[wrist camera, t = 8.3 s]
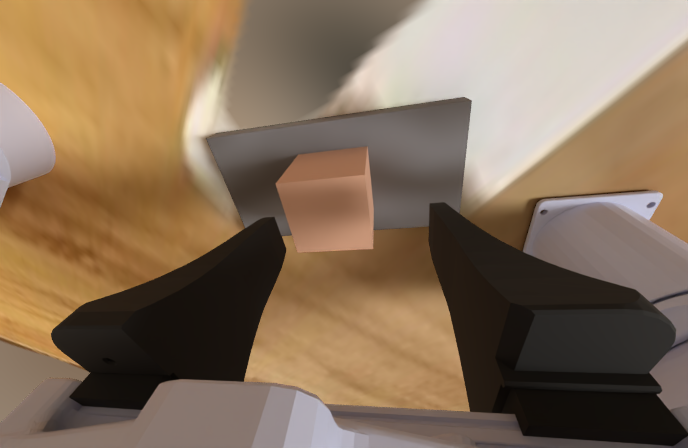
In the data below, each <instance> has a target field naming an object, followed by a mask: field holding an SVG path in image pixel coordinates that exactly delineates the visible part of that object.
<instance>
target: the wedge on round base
mask: <svg viewBox="0 0 688 448" xmlns="http://www.w3.org/2000/svg"><path fill="white" fill-rule="evenodd" d="M55 159H56V156H55V150H54V146H53V143H52V141H51V138H50V136H49V134H48V132H47V130H46V129H45V127H44V126H43V124H42V123H41V121H40V120H39V119H38V117H37V116H36V115H35V114H34V112H33V111H32V110H31V109H30V108H29V107H28V106H27V105H26V104H25V103H24V102H23V101H22V100H21V99H20V98H19V97H18V96H17V95H16V94H15V93H14V92H12V91H11V90H10V89H9V88H7V87H6V86H5V85H3V84H2V83H0V207H1V204H2V202H3V199H4V196H5V194H6V191H7V189H8V188H9V187H12V186H15V185H18V184H20V183H23V182H26V181H29V180H31V179H34V178H37V177H40V176H42V175H45V174H47V173H49V172H50V171H51V170H52V169H53V167H54V164H55Z"/></svg>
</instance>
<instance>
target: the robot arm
mask: <svg viewBox="0 0 688 448" xmlns="http://www.w3.org/2000/svg"><path fill="white" fill-rule="evenodd" d="M662 197H663V194H662V193H660V192H658V191H641V192H628V193H615V194H602V195H589V196H576V197H563V198H550V199H542V200H540V201H539V202H538V203H537V204H536V207H535V210H534V214H533V217H532V221H531V224H530V227H529V231H528V234H527V238H526V241H525V245H524V248H523V252H522V251H520V250H518V249H516V248H514V247H512V246H510V245H508V244H506V243H504V242H502V241H500V240H498V239H497V238H495V237H493V236H491V235H490V234H488V233H487V232H485V231H483V230H482V229H480V228H479V227H477V226H476V225H474V224H473V223H471V222H470V221H469V220H467V219H466V218H464V217H463V216H462V215H460V214H459V213H458V212H457V211H455V210H454V209H453V208H451V207H450V206H449V205H448V204H446V203H445V202H440V203H429V246H430V251H431V256H432V260H433V264H434V266H435V269H436V272H437V275H438V278H439V281H440V284H441V287H442V290H443V293H444V296H445V298H446V301H447V304H448V308H449V311H450V315H451V320H452V324H453V329H454V333H455V337H456V342H457V347H458V351H459V356H460V361H461V366H462V371H463V376H464V381H465V386H466V391H467V397H468V402H469V407H470V412H463V411H445V410H426V409H408V408H390V407H371V406H353V405H335V404H324V403H323V402H322V401H321V400H320V399H319V397H318V396H317V395H315V394H312V393H310V392H308V391H305V390H303V389H301V388H299V387H295V386H289V385H283V384H277V383H261V382H244V378H245V373H246V369H247V365H248V361H249V357H250V353H251V349H252V346H253V342H254V338H255V335H256V331H257V328H258V325H259V322H260V319H261V315H262V313H263V310H264V308H265V305H266V303H267V300H268V298H269V296H270V294H271V291H272V289H273V287H274V285H275V282H276V280H277V278H278V275H279V273H280V271H281V268H282V265H283V261H284V258H285V253H286V247H285V244H284V242H283V239H282V236H281V233H280V231H279V228H278V225H277V222H276V220H275V217H265V218H261V219H259V220H257V221H256V222H254V223H253V224H251V225H250V226H248V227H247V228H245V229H244V230H242V231H241V232H239V233H238V234H236V235H235V236H233V237H232V238H230V239H229V240H227V241H226V242H224V243H223V244H221V245H219V246H218V247H216V248H215V249H213V250H211V251H210V252H208V253H207V254H205V255H203V256H201V257H200V258H198V259H196V260H194V261H192V262H190V263H188V264H187V265H185V266H183V267H180V268H178V269H176V270H174V271H172V272H170V273H167V274H165V275H163V276H161V277H159V278H156V279H154V280H151V281H149V282H146V283H144V284H141V285H139V286H136V287H133V288H131V289H128V290H125V291H122V292H119V293H116V294H113V295H110V296H107V297H104V298H101V299H97V300H94V301H91V302H88V303H85V304H84V305H82V306H80V307H79V308H78V309H77V310H75V311H74V312H73V313H72V314H71V315H69V316H68V317H67V318H66V319H65V320H64V321H62V322H61V323H60V324H59V325H58V326H56V327H55V328H54V329H53V331H52V333H51V337H52V340H53V343H54V344H55V345H56V346H57V348H59V349H60V350H61V351H62V352H63V353H64V354H66V355H67V356H68V357H70V358H71V359H72V360H74V361H75V362H77V363H78V364H79V365H81V366H82V367H83V368H85V369H86V370H87V371H89V372H91V373H90V374H89V375H88V376H87V377H86V378H85V380H84V381H83V382H82V381H79V380H76V379H70V378H69V379H68V378H46V379H45V380H44V381H42V382H41V383H40V384H39V385H38V386H37V387H36V388H35V389H34V390H33V391H32V392H31V393H30V394H29V395H28V396H27V397H26V398H25V399H24V400H23V401H22V402H21V403H20V404H19V405H18V406H17V407H16V408H15V409H14V410H13V411H12V412H11V413H10V414H9V415H8V416H7V417H6V418H5V419H4V420H3V421H1V422H0V448H688V244H687V243H686V242H684V241H682V240H681V239H679V238H677V237H676V236H674V235H672V234H671V233H669V232H668V231H666V230H664V229H663V228H661V227H659V226H658V225H656V224H654V223H653V222H651V221H649V220H650V218H651V216H652V215H653V213H654V211H655V210H656V208H657V206H658V204H659V203H660V201H661V199H662ZM647 204H648V205H647ZM544 209H545V210H544ZM542 210H544V211H543V212H541V211H542ZM540 212H541V213H540Z"/></svg>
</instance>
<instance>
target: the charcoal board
mask: <svg viewBox="0 0 688 448" xmlns="http://www.w3.org/2000/svg"><path fill="white" fill-rule="evenodd" d="M471 102H472V101H471V100H469V99H467V98H465V97H462V98H456V99H449V100H442V101H435V102H428V103H421V104H414V105H408V106H401V107H394V108H387V109H380V110H373V111H366V112H360V113H353V114H346V115H339V116H332V117H325V118H318V119H311V120H305V121H298V122H291V123H284V124H277V125H270V126H263V127H257V128H251V129H243V130H236V131H229V132H222V133H216V134H214V135H212V136H210V137H208V138H206V140H207V142H208V144H209V146H210V149H211V151H212V153H213V155H214V158H215V160H216V162H217V165H218V167H219V169H220V171H221V174H222V176H223V178H224V181H225V183H226V185H227V187H228V190H229V192H230V194H231V196H232V199H233V201H234V203H235V206H236V208H237V210H238V212H239V215H240V217H241V219H242V222H243V224H244V226H245V228H247V227H248V226H250V225H251V224H253V223H254V222H256V221H257V220H259V219H261V218H265V217H275V220H276V222H277V225H278V228H279V231H280V233H281V236H289V235H292V233H291V230H290V227H289V224H288V221H287V218H286V215H285V212H284V209H283V205H282V202H281V199H280V196H279V193H278V190H277V187H276V183H277V181H278V180H279V179H280V177H281V176H282V175H283V174H284V172H285V171H286V170H287V168H288V167H289V166H290V165H291V163H292V162H293V161H294V159H295V158H296V157H297V156H298V155H299V154H307V153H316V152H324V151H332V150H341V149H349V148H358V147H366V146H368V156H369V166H370V176H371V186H372V196H373V206H374V227H373V230H382V229H397V228H413V227H428V226H429V203H440V202H445V203H446V204H448V205H449V206H450V207H451V208H453V209H454V210H455V211H457V212H458V213H459V214H460V205H461V195H462V186H463V177H464V167H465V158H466V149H467V139H468V130H469V121H470V112H471Z"/></svg>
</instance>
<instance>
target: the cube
mask: <svg viewBox="0 0 688 448" xmlns="http://www.w3.org/2000/svg"><path fill="white" fill-rule="evenodd" d="M276 187H277V190H278V193H279V196H280V199H281V202H282V205H283V209H284V212H285V215H286V218H287V221H288V224H289V227H290V230H291V233H292V237H293V240H294V243H295V246H296V249H297V252H298V253H301V252H321V251H341V250H361V249H373V227H374V206H373V196H372V186H371V176H370V166H369V156H368V146H366V147H358V148H349V149H341V150H332V151H324V152H316V153H307V154H299V155H298V156H297V157H296V158H295V159H294V161H293V162H292V163H291V165H290V166H289V167H288V168H287V170H286V171H285V172H284V174H283V175H282V176H281V177H280V179H279V180H278V181H277V183H276Z"/></svg>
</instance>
